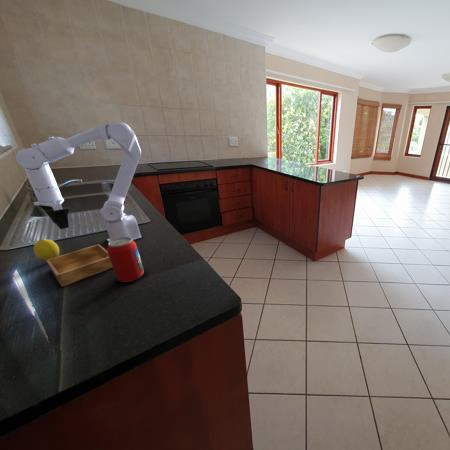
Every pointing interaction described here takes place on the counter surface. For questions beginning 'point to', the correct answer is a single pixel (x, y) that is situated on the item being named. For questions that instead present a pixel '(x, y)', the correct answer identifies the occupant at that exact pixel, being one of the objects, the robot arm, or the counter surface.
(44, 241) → the lemon
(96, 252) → the wooden tray
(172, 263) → the counter surface
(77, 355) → the counter surface
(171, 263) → the counter surface
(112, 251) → the beverage can
